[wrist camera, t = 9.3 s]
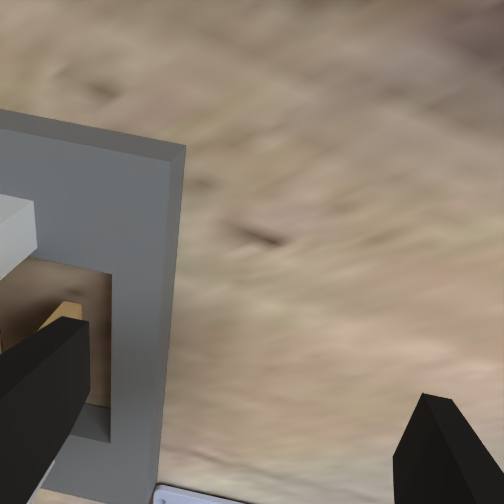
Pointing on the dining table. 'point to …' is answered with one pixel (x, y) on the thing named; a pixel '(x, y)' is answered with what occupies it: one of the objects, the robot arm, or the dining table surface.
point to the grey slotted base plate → (107, 261)
